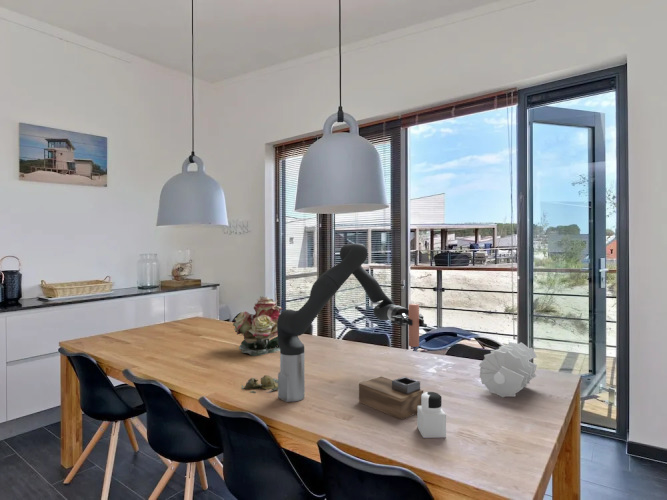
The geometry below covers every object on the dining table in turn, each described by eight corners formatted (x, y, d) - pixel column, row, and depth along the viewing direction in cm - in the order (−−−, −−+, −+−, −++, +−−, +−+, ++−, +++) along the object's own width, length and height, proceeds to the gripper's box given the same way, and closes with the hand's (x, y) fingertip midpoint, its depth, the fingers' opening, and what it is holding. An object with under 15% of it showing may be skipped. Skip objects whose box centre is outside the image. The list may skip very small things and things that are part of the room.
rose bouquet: (229, 347, 229) (229, 295, 229) (278, 342, 242) (278, 292, 242) (240, 358, 206) (240, 300, 206) (293, 352, 219) (293, 297, 219)
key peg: (414, 347, 153) (414, 305, 153) (406, 345, 156) (406, 304, 156) (421, 345, 156) (421, 304, 155) (413, 343, 159) (413, 303, 158)
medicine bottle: (439, 427, 127) (439, 389, 127) (446, 437, 120) (446, 398, 120) (417, 427, 127) (417, 389, 127) (422, 438, 120) (422, 398, 120)
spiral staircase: (487, 406, 153) (507, 385, 173) (532, 397, 143) (547, 376, 162) (466, 360, 158) (487, 345, 177) (508, 348, 147) (526, 333, 167)
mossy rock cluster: (294, 384, 169) (294, 371, 169) (266, 397, 154) (266, 383, 154) (261, 377, 178) (261, 365, 178) (232, 389, 163) (232, 376, 163)
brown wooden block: (401, 419, 133) (401, 389, 132) (359, 402, 148) (359, 375, 148) (423, 410, 140) (423, 381, 140) (381, 394, 156) (381, 368, 155)
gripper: (383, 306, 168) (400, 313, 151) (414, 305, 171) (434, 312, 155) (383, 324, 168) (400, 333, 151) (414, 323, 171) (434, 331, 155)
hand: (417, 322), depth 153 cm, fingers closed on key peg, 4 cm apart
